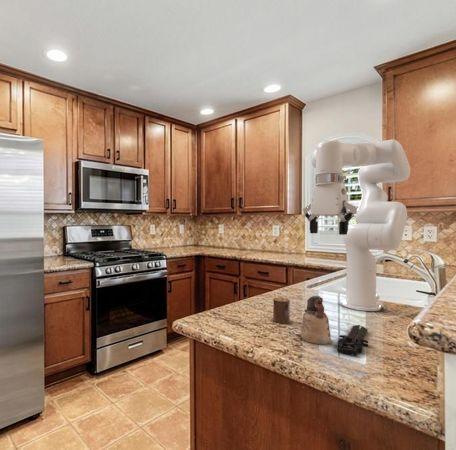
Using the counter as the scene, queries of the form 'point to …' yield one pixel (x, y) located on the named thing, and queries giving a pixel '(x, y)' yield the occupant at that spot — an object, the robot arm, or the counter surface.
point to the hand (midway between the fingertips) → (327, 233)
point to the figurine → (315, 322)
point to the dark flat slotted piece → (356, 346)
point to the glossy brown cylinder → (281, 310)
